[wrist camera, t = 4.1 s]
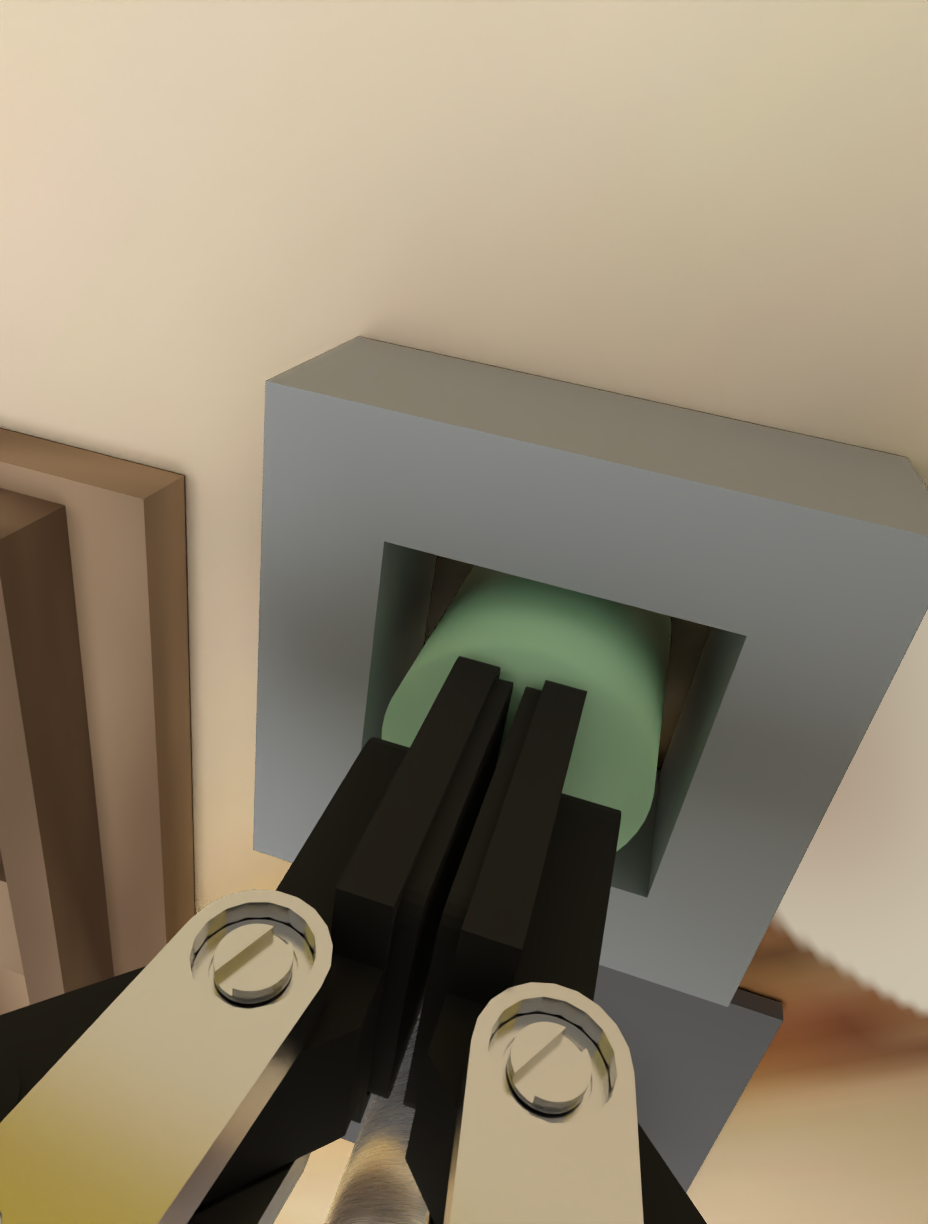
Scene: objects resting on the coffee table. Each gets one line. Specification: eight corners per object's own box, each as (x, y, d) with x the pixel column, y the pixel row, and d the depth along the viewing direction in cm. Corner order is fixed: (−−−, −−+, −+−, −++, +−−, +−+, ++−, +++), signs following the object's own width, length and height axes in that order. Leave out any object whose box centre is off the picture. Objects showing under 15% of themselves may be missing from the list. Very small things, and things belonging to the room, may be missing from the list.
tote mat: (782, 1002, 17) (783, 1020, 16) (651, 1239, 22) (650, 1256, 21) (316, 850, 18) (308, 863, 18) (295, 1103, 23) (289, 1118, 23)
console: (907, 457, 11) (960, 543, 9) (727, 866, 15) (727, 1007, 13) (358, 336, 13) (265, 380, 10) (325, 744, 17) (253, 849, 14)
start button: (698, 559, 13) (691, 693, 10) (640, 740, 15) (616, 905, 11) (475, 504, 13) (395, 613, 10) (444, 685, 15) (369, 825, 12)
